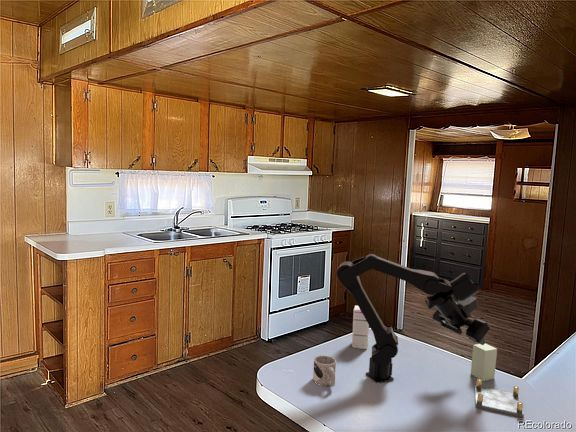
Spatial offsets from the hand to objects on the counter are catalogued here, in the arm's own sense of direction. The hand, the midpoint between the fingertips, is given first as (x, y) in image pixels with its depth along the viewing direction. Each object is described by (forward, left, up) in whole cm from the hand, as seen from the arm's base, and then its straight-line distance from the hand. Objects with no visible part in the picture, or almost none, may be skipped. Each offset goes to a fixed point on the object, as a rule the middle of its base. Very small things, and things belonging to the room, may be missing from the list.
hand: (472, 338), depth 141 cm
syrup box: (-19, +34, -14) cm, 41 cm away
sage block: (+6, 0, -13) cm, 15 cm away
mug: (-45, +12, -14) cm, 49 cm away
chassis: (-3, -14, -13) cm, 20 cm away
